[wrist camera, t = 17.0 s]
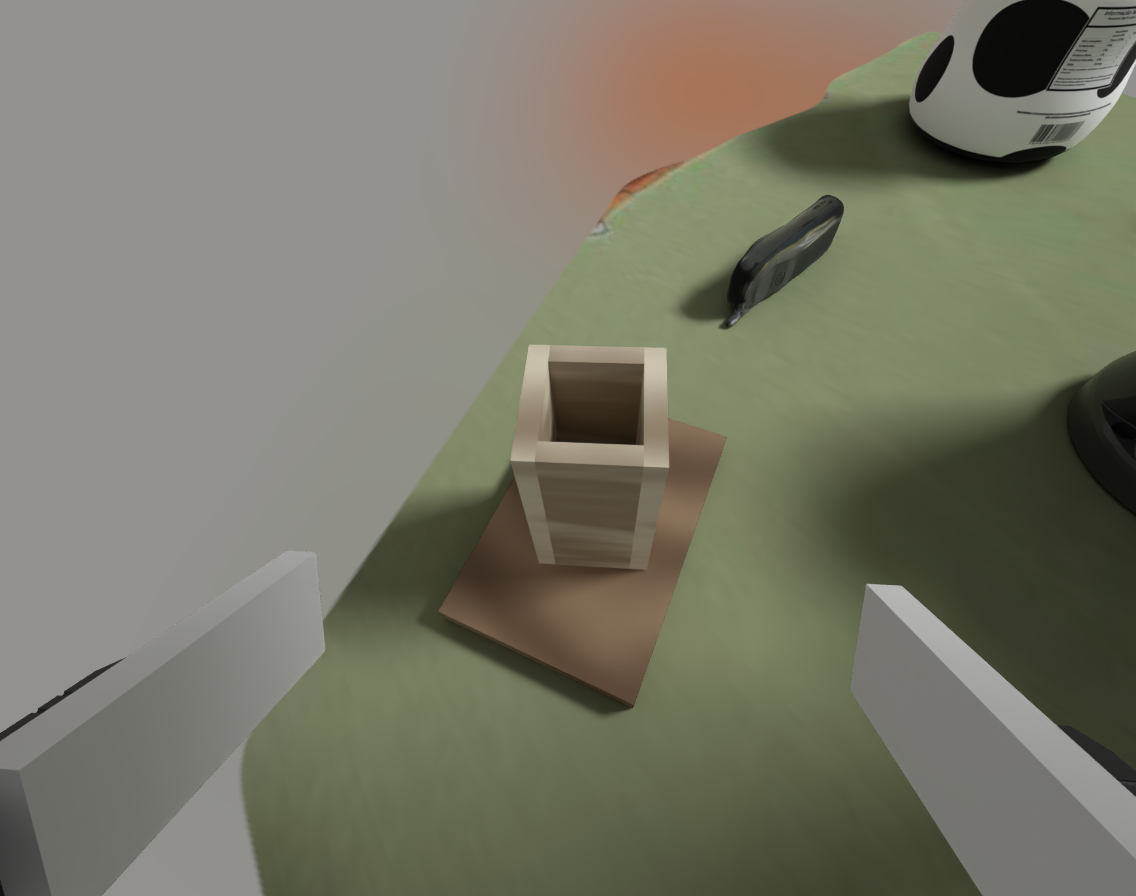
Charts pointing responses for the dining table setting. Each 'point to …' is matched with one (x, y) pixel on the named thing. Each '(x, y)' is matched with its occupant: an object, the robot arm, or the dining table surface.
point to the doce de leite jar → (1024, 76)
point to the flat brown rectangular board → (585, 583)
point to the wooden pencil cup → (592, 452)
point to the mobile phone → (783, 255)
